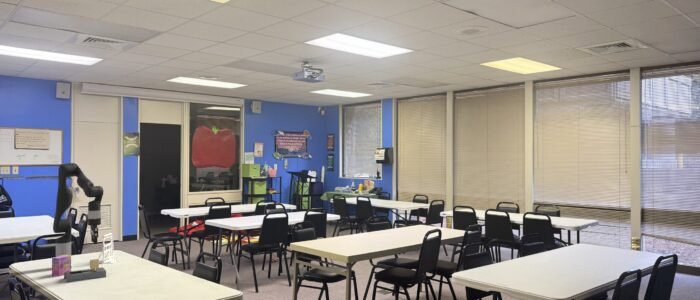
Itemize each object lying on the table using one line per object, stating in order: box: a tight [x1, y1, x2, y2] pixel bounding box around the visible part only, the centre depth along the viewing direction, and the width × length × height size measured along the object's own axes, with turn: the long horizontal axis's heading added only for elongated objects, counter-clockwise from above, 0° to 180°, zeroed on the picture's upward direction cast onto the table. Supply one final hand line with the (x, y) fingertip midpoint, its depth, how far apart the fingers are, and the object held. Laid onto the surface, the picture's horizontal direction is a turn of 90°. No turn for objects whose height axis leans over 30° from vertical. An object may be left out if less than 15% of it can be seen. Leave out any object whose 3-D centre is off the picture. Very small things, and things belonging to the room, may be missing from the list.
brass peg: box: [89, 258, 100, 271], centre depth 310 cm, size 5×5×10 cm
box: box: [51, 254, 72, 277], centre depth 317 cm, size 10×6×12 cm, turn 168°
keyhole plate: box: [63, 267, 107, 283], centre depth 307 cm, size 22×12×4 cm, turn 126°
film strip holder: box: [97, 232, 123, 265], centre depth 355 cm, size 14×14×20 cm
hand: (94, 242), depth 310 cm, fingers open, 8 cm apart
